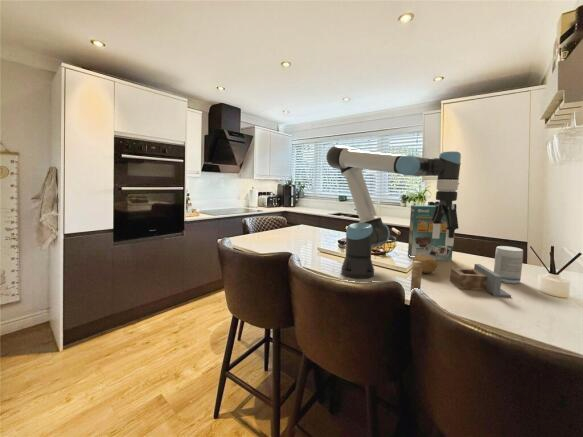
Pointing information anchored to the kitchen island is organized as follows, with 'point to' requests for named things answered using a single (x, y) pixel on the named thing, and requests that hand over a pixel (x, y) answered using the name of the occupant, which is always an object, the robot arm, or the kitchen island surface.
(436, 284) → the kitchen island surface
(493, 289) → the bracket
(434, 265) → the potato
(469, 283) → the block
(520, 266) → the supplement tub
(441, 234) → the cake mix box
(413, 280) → the dowel
